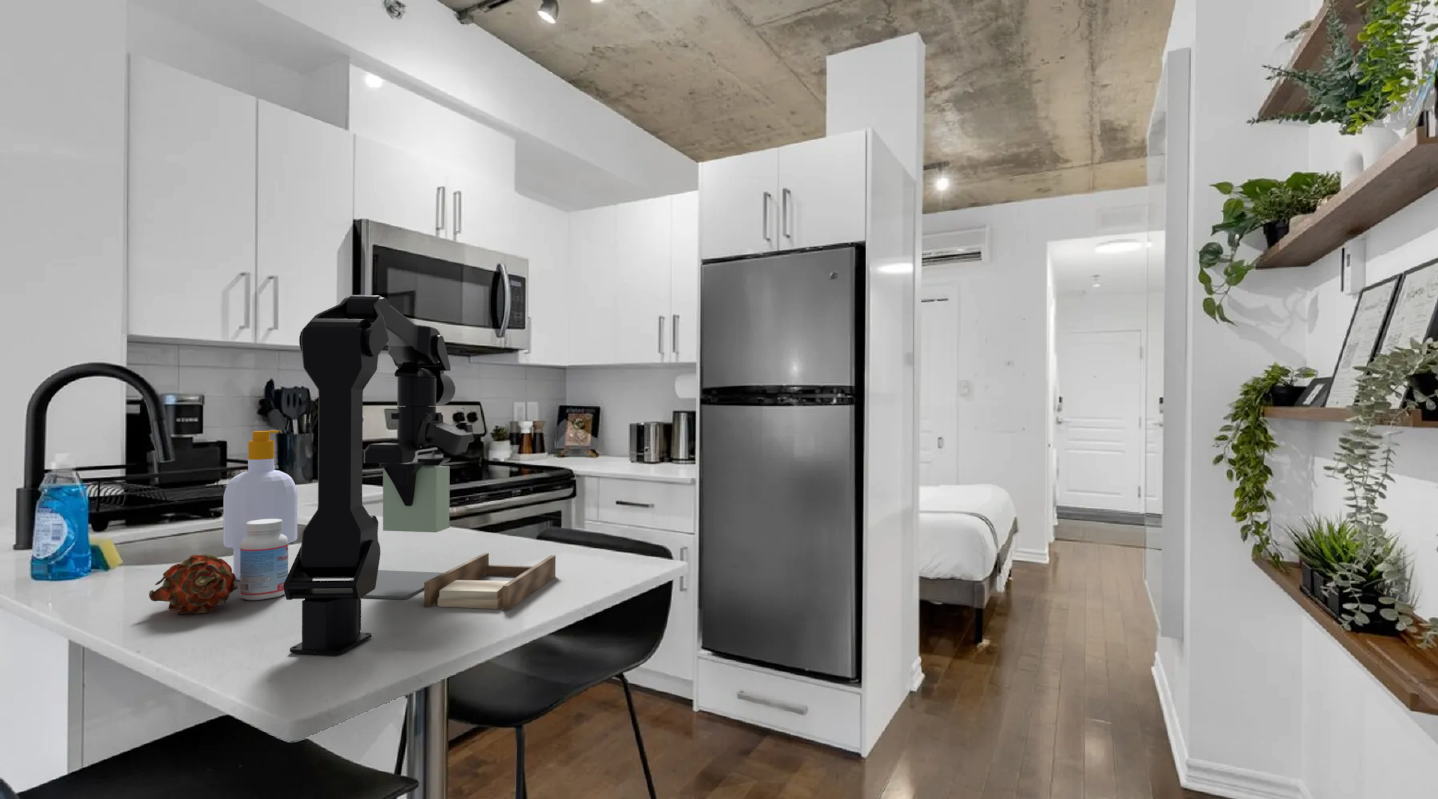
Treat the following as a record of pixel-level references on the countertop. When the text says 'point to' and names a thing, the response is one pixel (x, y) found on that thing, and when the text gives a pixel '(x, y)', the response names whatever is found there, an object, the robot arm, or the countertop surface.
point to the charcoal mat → (399, 584)
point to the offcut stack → (472, 594)
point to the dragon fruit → (196, 584)
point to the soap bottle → (258, 497)
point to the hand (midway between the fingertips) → (416, 503)
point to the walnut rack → (479, 567)
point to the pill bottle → (263, 560)
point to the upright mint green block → (419, 502)
